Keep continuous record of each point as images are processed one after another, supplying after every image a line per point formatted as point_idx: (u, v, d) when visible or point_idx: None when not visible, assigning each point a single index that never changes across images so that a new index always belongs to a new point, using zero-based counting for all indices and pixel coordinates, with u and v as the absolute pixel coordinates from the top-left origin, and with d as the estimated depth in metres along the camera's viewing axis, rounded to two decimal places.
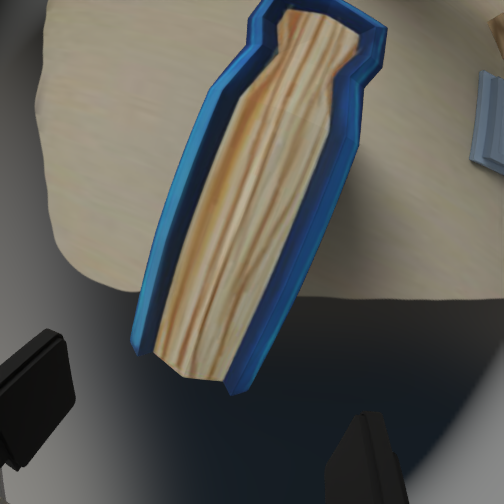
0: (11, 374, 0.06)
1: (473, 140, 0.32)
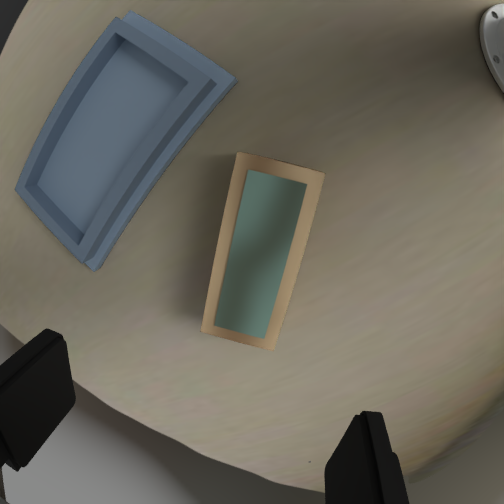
0: (11, 374, 0.06)
1: None
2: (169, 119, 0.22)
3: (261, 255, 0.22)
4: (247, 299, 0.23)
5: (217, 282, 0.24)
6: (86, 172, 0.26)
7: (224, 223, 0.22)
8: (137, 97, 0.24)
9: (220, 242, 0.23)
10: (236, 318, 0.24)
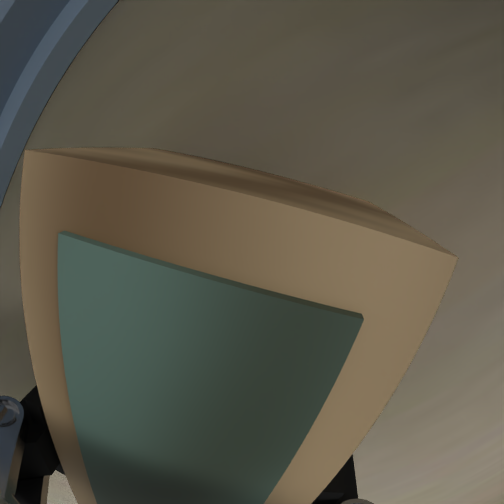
0: None
1: None
2: None
3: (173, 500, 0.05)
4: None
5: (88, 498, 0.06)
6: None
7: (47, 405, 0.05)
8: None
9: (58, 442, 0.06)
10: None
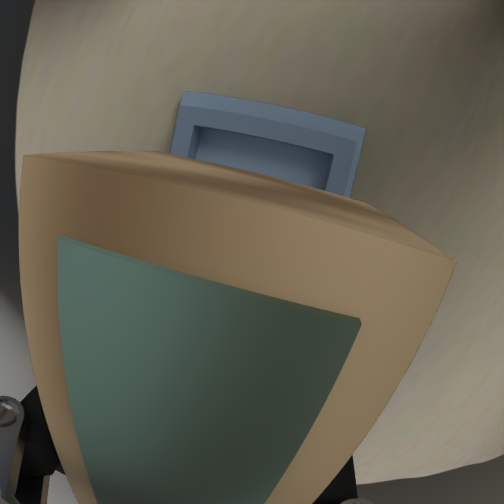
0: None
1: None
2: None
3: (173, 501, 0.05)
4: None
5: (89, 500, 0.06)
6: None
7: (48, 408, 0.05)
8: None
9: (59, 444, 0.06)
10: None
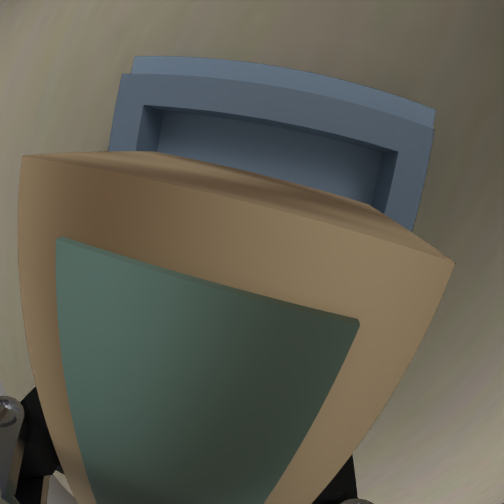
0: None
1: None
2: None
3: (172, 501, 0.05)
4: None
5: (89, 500, 0.06)
6: None
7: (47, 408, 0.05)
8: None
9: (58, 444, 0.06)
10: None
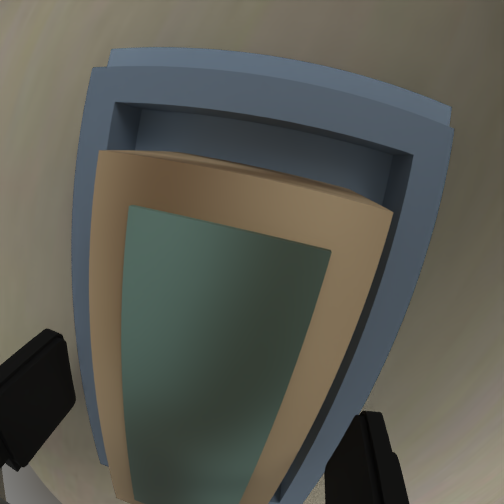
0: (11, 374, 0.06)
1: None
2: (408, 263, 0.09)
3: (199, 430, 0.08)
4: (183, 486, 0.09)
5: (120, 451, 0.09)
6: None
7: (97, 352, 0.07)
8: None
9: (100, 389, 0.08)
10: (169, 502, 0.09)
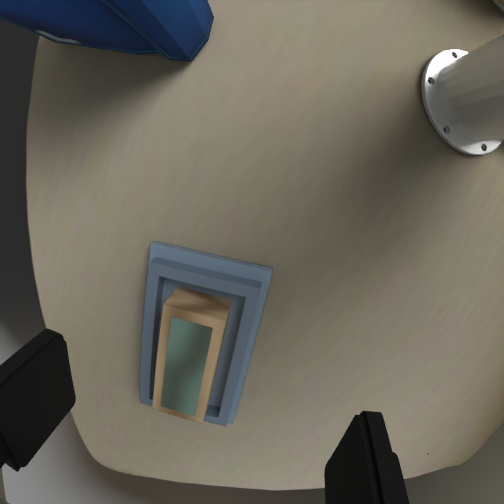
0: (11, 374, 0.06)
1: (177, 246, 0.34)
2: (246, 326, 0.32)
3: (186, 369, 0.30)
4: (180, 393, 0.31)
5: (160, 381, 0.31)
6: None
7: (159, 348, 0.30)
8: None
9: (158, 359, 0.31)
10: (174, 403, 0.32)
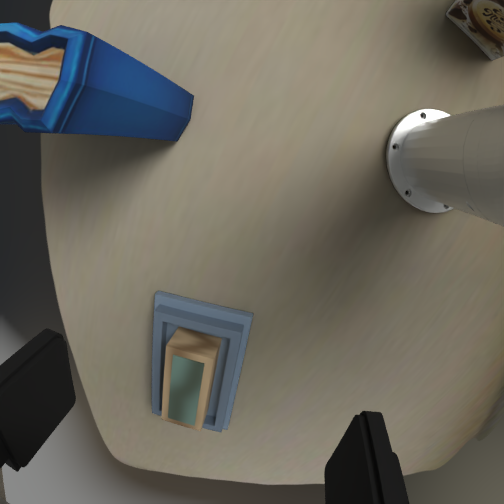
0: (11, 374, 0.06)
1: (176, 295, 0.42)
2: (232, 359, 0.40)
3: (186, 391, 0.38)
4: (182, 408, 0.40)
5: (166, 400, 0.40)
6: None
7: (165, 376, 0.38)
8: None
9: (164, 383, 0.39)
10: (178, 416, 0.40)
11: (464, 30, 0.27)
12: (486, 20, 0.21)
